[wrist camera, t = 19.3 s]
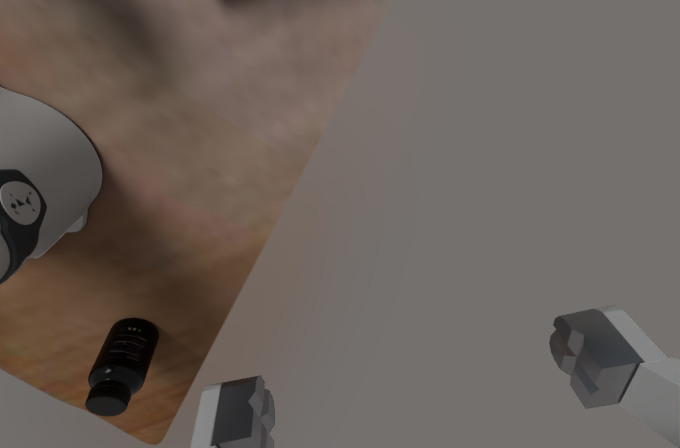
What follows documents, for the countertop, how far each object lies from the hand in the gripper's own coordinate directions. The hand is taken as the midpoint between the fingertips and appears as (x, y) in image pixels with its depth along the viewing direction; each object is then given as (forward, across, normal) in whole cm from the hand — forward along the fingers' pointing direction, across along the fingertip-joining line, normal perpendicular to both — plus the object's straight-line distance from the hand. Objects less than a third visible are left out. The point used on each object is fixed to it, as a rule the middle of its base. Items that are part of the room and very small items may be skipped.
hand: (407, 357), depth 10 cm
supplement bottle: (+34, +36, +32) cm, 59 cm away
